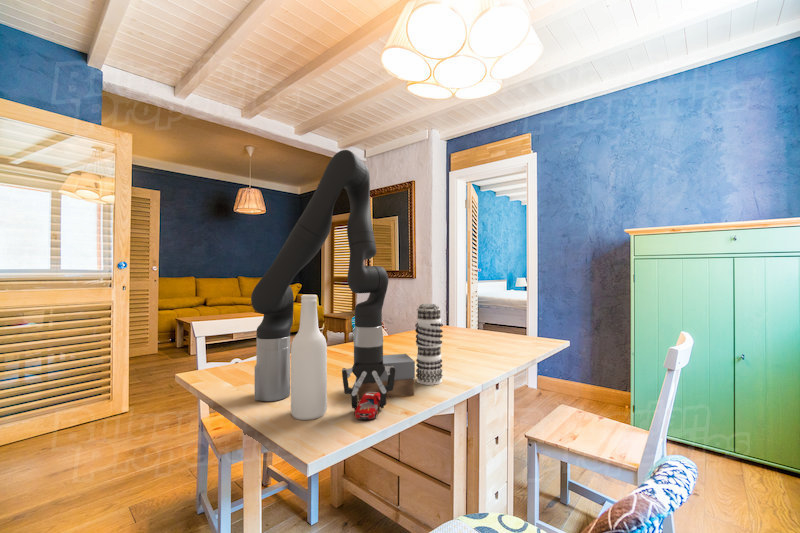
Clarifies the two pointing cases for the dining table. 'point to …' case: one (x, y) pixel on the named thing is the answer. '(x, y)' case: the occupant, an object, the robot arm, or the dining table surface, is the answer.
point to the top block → (399, 366)
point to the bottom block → (398, 390)
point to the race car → (368, 406)
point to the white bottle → (308, 365)
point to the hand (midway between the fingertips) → (368, 407)
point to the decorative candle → (429, 345)
